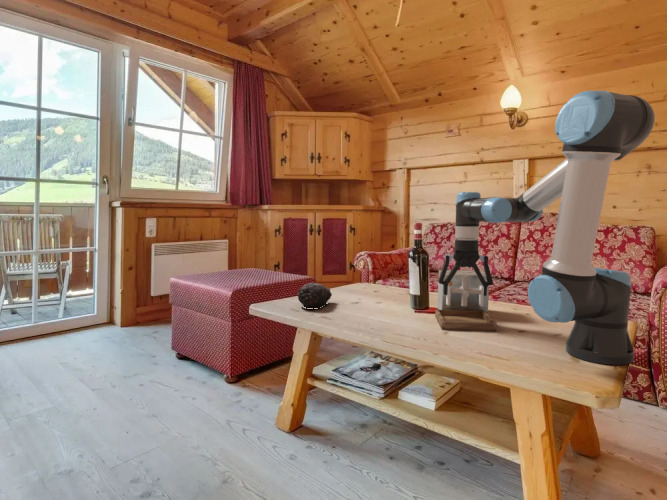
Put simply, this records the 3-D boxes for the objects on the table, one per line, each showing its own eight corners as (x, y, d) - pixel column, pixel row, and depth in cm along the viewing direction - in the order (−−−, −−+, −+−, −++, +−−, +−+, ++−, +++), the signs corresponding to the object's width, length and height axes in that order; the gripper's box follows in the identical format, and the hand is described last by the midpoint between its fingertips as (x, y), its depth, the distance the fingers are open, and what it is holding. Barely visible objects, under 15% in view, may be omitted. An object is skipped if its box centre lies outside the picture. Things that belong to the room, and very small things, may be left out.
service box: (488, 317, 147) (489, 275, 145) (442, 316, 149) (443, 274, 147) (479, 308, 160) (481, 270, 158) (437, 307, 162) (438, 269, 160)
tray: (496, 331, 130) (497, 323, 129) (441, 329, 132) (441, 321, 132) (484, 317, 147) (484, 310, 146) (435, 316, 149) (435, 309, 148)
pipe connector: (482, 310, 133) (483, 279, 132) (450, 308, 135) (451, 278, 134) (477, 303, 143) (478, 274, 142) (447, 301, 145) (448, 273, 144)
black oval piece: (334, 302, 171) (334, 278, 170) (318, 312, 154) (318, 285, 153) (311, 300, 174) (311, 277, 173) (293, 310, 158) (293, 284, 157)
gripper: (499, 238, 139) (496, 303, 141) (430, 237, 141) (428, 301, 144) (505, 240, 131) (502, 308, 134) (433, 239, 134) (431, 306, 136)
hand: (464, 304), depth 139 cm, fingers closed on pipe connector, 10 cm apart
